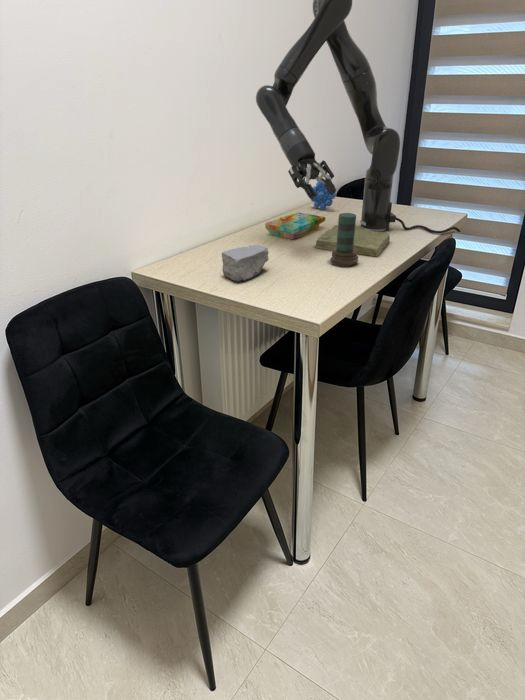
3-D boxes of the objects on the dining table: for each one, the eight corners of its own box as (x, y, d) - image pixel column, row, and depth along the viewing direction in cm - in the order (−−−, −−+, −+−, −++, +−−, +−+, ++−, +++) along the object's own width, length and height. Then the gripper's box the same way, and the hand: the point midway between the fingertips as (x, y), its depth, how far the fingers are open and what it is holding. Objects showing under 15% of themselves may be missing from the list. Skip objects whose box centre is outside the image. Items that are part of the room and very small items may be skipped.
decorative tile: (376, 257, 156) (378, 245, 154) (314, 247, 164) (315, 236, 162) (392, 241, 170) (393, 230, 169) (334, 233, 178) (335, 222, 177)
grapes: (340, 210, 207) (342, 179, 201) (330, 213, 202) (332, 181, 197) (316, 205, 214) (318, 175, 208) (306, 208, 209) (308, 177, 203)
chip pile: (353, 258, 155) (354, 245, 153) (360, 266, 148) (362, 253, 146) (327, 259, 154) (328, 246, 152) (334, 268, 147) (335, 254, 146)
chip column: (350, 246, 152) (353, 212, 147) (355, 251, 148) (358, 216, 143) (334, 247, 151) (337, 213, 146) (338, 252, 147) (341, 217, 142)
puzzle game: (265, 221, 174) (297, 209, 188) (265, 234, 176) (297, 222, 190) (294, 226, 168) (325, 214, 182) (294, 241, 170) (324, 227, 184)
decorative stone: (216, 281, 139) (249, 285, 135) (214, 256, 135) (248, 259, 132) (240, 265, 150) (271, 268, 147) (238, 241, 147) (271, 244, 144)
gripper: (286, 141, 143) (314, 190, 142) (320, 137, 152) (347, 183, 150) (272, 159, 149) (299, 206, 147) (306, 154, 158) (332, 199, 156)
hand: (323, 195), depth 149 cm, fingers open, 8 cm apart
